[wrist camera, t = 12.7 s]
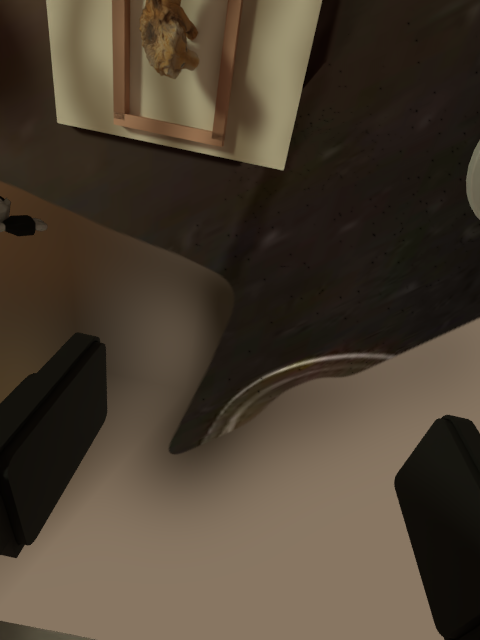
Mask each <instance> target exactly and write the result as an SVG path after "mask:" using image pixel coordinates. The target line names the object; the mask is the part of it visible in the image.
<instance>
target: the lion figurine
mask: <svg viewBox="0 0 480 640" xmlns="http://www.w3.org/2000/svg"><path fill="white" fill-rule="evenodd" d="M180 5H181V0H146V4H145V7H144V9H143V10H142V14H141V17H140V28H139V30H140V32H141V34H142V35H141V39H142V46H143V48H144V51H145V53H146V54H147V55H146V57H147V59H148V61H149V65H150V66H153V68H154V69H155V70H156V71H157V73H159V74H160V75H161V76H163V75H165V76H167V77H169V78H173V79H176V78H177V77H178V76H179V73H181V71H182V69H188V70H190V71H193V70H195V68H197V67H198V65H199V61H200V60H199V57H198V55H197V53H195V52H194V51H191V50H189V49H188V48H187V38H188V39H191V40H193V39H195V38H196V37H197V35H198V31H197V29H196V27H195V26H194V24H193V23H192V22H191V21H190V20H189V18H188V16H187V15H186V13H185V12H184V10H183V8H182V7H180ZM186 37H187V38H186Z"/></svg>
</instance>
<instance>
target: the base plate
mask: <svg viewBox="0 0 480 640" xmlns="http://www.w3.org/2000/svg"><path fill="white" fill-rule="evenodd" d="M46 3H47V14H48V25H49V36H50V47H51V58H52V69H53V80H54V91H55V102H56V113H57V123H60V124H65V125H70V126H75V127H79V128H84V129H89V130H94V131H98V132H103V133H108V134H113V135H117V136H122V137H127V138H132V139H137V140H141V141H146V142H151V143H156V144H160V145H165V146H170V147H175V148H179V149H184V150H189V151H194V152H198V153H203V154H208V155H213V156H217V157H222V158H227V159H232V160H237V161H241V162H246V163H251V164H256V165H260V166H265V167H270V168H275V169H279V170H284V166H285V162H286V157H287V153H288V148H289V144H290V140H291V135H292V131H293V127H294V122H295V118H296V113H297V109H298V105H299V100H300V96H301V91H302V87H303V83H304V78H305V74H306V69H307V65H308V61H309V56H310V52H311V47H312V43H313V39H314V34H315V30H316V25H317V21H318V17H319V12H320V8H321V4H322V0H181V5H180V7H182V8H183V10H184V12H185V13H186V15H187V16H188V18H189V20H190V21H191V22H192V23H193V24H194V26H195V27H196V29H197V31H198V35H197V37H196V38H195V39H193V40H191V39H188V38H187V37H186V38H187V48H188V49H189V50H191V51H194V52H195V53H197V55H198V57H199V60H200V61H199V65H198V67H197V68H195V70H193V71H190V70H188V69H182V71H181V73H179V76H178V77H177V78H176V79H173V78H169V77H167V76H165V75H163V76H161V75H160V74H159V73H157V71H156V70H155V69H154V68H153V66H150V65H149V61H148V59H147V57H146V55H147V54H146V53H145V51H144V48H143V46H142V39H141V35H142V34H141V32H140V30H139V28H140V17H141V14H142V10H143V9H144V7H145V4H146V0H46Z"/></svg>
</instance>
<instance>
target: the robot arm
mask: <svg viewBox="0 0 480 640" xmlns="http://www.w3.org/2000/svg"><path fill="white" fill-rule="evenodd" d="M466 185H467V196H468V200H469V203H470V206H471V208H472V210H473V211H474V213H475V215H476V216H477V217H478V218H479V219H480V141H479V142H478V144H477V146H476V148H475V150H474V152H473V155H472V158H471V161H470V164H469V167H468V173H467V179H466ZM106 383H107V382H106V347H105V344H103V343H100V339H99V337H96V336H92V335H87V334H83V333H75V334H74V335H73V336H72V337H71V338H70V339H69V340H68V341H67V342H66V343H65V344H64V345H63V346H62V347H61V349H60V350H59V351H58V352H57V353H56V354H55V355H54V356H53V357H52V358H51V359H50V360H49V361H48V362H47V363H46V364H45V365H44V366H43V367H42V368H41V369H40V370H39V371H38V372H37V373H33V374H31V375H29V376H28V377H27V378H25V379H24V380H23V381H22V382H21V383H20V384H19V385H18V386H17V387H16V388H15V389H14V390H13V391H12V392H11V393H10V394H9V396H7V397H6V398H5V399H4V401H2V403H1V404H0V555H5V556H9V557H14V558H17V557H18V555H19V553H20V552H21V550H22V548H23V547H24V545H31V544H32V543H33V542H34V540H35V539H36V538H37V536H38V534H39V533H40V531H41V529H42V528H43V526H44V524H45V523H46V520H47V519H48V517H49V516H50V514H51V512H52V510H53V509H54V507H55V505H56V504H57V502H58V500H59V499H60V497H61V495H62V493H63V492H64V490H65V488H66V486H67V485H68V483H69V481H70V480H71V478H72V476H73V475H74V473H75V471H76V470H77V468H78V466H79V464H80V463H81V461H82V459H83V457H84V456H85V454H86V452H87V451H88V449H89V447H90V446H91V444H92V442H93V440H94V439H95V437H96V435H97V434H98V432H99V430H100V428H101V427H102V425H103V423H104V421H105V418H106V415H107V386H106V385H107V384H106ZM394 484H395V490H396V493H397V497H398V500H399V504H400V507H401V511H402V514H403V517H404V521H405V524H406V528H407V531H408V534H409V538H410V541H411V545H412V548H413V551H414V555H415V558H416V562H417V565H418V569H419V572H420V575H421V579H422V582H423V585H424V589H425V592H426V596H427V599H428V602H429V606H430V609H431V613H432V616H433V619H434V623H435V626H436V628H437V630H438V632H439V633H440V634H441V636H443V637H444V640H480V433H479V431H478V430H477V429H476V427H475V425H474V424H473V422H472V421H470V420H469V419H465V418H460V417H456V416H451V415H445V416H443V417H442V418H441V419H437V420H436V421H435V422H434V423H433V425H432V426H431V427H430V429H429V430H428V431H427V433H426V434H425V436H424V437H423V438H422V440H421V441H420V443H419V444H418V445H417V447H416V448H415V450H414V451H413V452H412V454H411V455H410V457H409V458H408V459H407V461H406V462H405V463H404V465H403V466H402V468H401V469H400V470H399V472H398V473H397V475H396V477H395V482H394ZM0 640H95V639H90V638H85V637H81V636H76V635H71V634H66V633H60V632H55V631H50V630H44V629H40V628H34V627H29V626H24V625H19V624H14V623H8V622H3V621H0Z"/></svg>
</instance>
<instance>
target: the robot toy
mask: <svg viewBox="0 0 480 640" xmlns="http://www.w3.org/2000/svg"><path fill="white" fill-rule="evenodd" d="M10 204H11V202H10V201H9V200H8V199H7V198H6V199H4V198H2V197H1V196H0V232H2V231H6V232H8V233H11V234H14V235H16V236H27V235H34V233H35V230H38V231H44V230H46V229H47V224H45V223H44V222H43V221H42V220H40V219H35V218H31V217H30V216H27V215H23V216H22V215H21V216H10V217H9V212H10Z"/></svg>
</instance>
